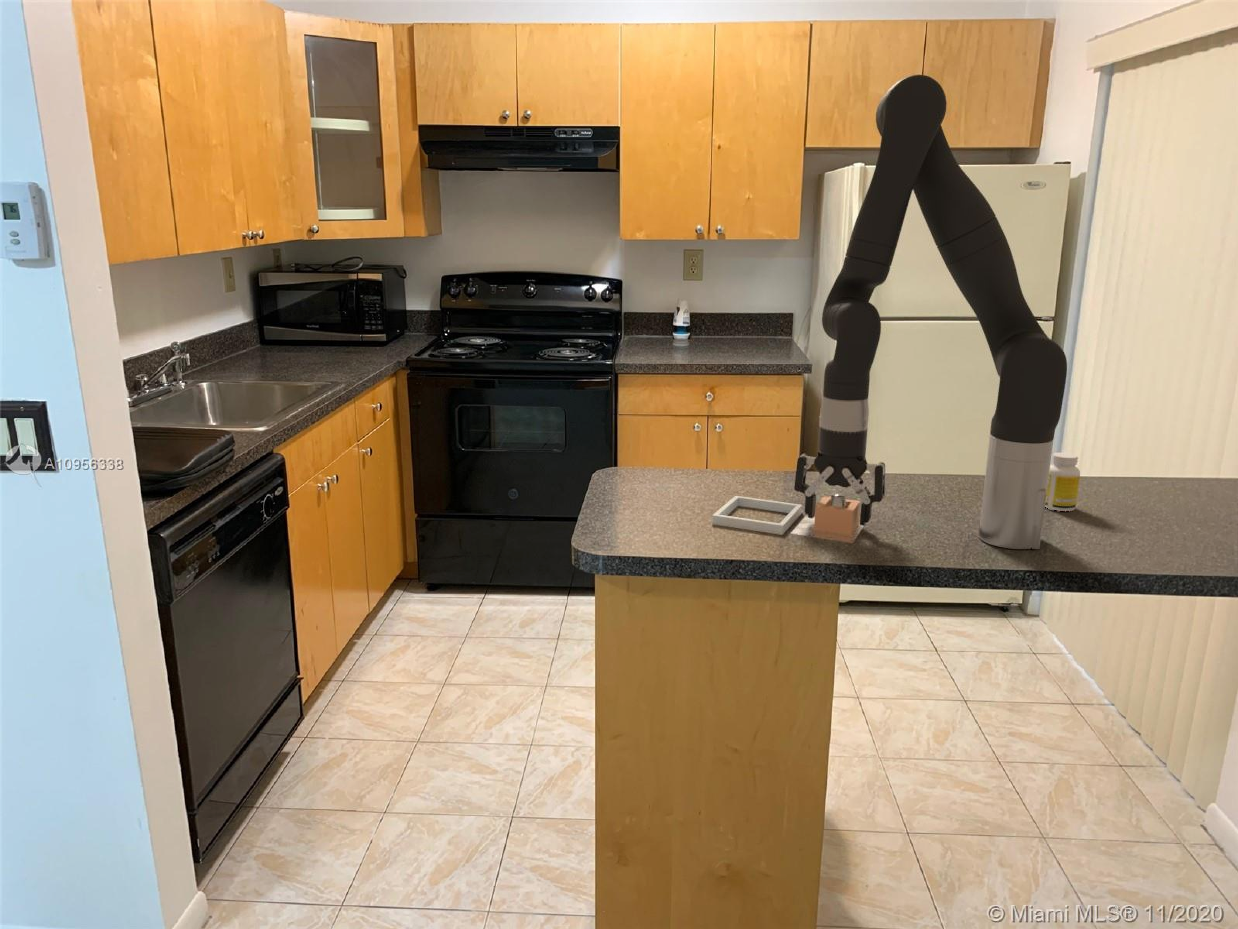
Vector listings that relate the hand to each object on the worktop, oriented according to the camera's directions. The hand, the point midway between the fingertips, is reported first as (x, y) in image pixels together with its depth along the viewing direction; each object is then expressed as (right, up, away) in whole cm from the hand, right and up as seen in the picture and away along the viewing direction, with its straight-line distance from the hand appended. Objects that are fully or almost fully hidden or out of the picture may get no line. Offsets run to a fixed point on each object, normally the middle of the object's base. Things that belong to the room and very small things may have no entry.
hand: (836, 520), depth 152 cm
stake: (-1, -2, 0) cm, 3 cm away
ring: (0, -1, 0) cm, 1 cm away
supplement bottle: (+43, +1, +13) cm, 45 cm away
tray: (-12, -1, +5) cm, 13 cm away
